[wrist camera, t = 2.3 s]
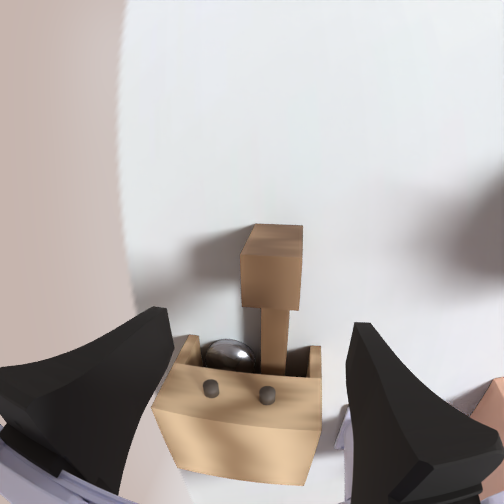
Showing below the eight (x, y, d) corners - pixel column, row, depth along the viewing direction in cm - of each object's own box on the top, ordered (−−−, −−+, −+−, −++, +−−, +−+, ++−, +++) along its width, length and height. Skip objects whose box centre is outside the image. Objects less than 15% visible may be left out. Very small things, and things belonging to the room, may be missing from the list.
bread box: (322, 338, 22) (323, 423, 15) (308, 414, 26) (303, 485, 18) (188, 326, 24) (147, 399, 16) (202, 403, 27) (177, 467, 20)
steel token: (255, 339, 23) (253, 349, 22) (256, 374, 25) (253, 384, 24) (206, 334, 24) (202, 343, 23) (211, 368, 25) (207, 378, 24)
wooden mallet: (302, 225, 19) (302, 257, 14) (289, 396, 25) (284, 440, 20) (195, 221, 20) (164, 250, 15) (214, 387, 26) (199, 429, 22)
